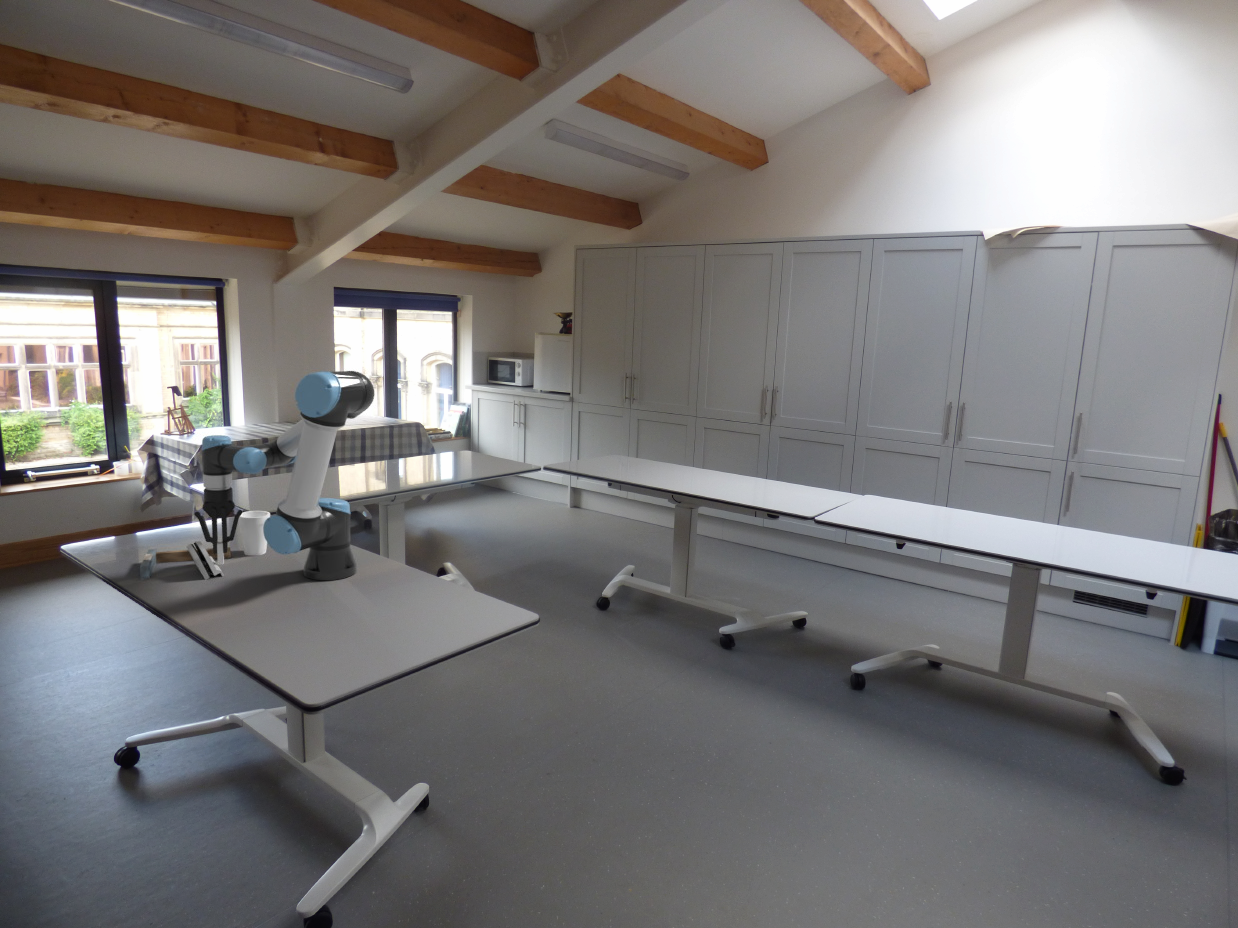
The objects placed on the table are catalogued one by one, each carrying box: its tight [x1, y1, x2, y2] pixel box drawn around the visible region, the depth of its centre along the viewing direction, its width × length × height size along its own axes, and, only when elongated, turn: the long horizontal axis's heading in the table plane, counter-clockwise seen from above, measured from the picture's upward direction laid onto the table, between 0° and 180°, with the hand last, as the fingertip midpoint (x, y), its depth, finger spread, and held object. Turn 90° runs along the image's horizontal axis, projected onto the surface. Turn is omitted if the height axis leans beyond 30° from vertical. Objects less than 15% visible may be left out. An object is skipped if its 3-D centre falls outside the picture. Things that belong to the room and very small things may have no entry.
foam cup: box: [238, 510, 271, 557], centre depth 233 cm, size 10×9×13 cm
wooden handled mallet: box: [139, 546, 232, 581], centre depth 217 cm, size 22×17×4 cm
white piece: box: [186, 540, 225, 580], centre depth 214 cm, size 17×5×10 cm, turn 39°
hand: (220, 563), depth 217 cm, fingers closed
